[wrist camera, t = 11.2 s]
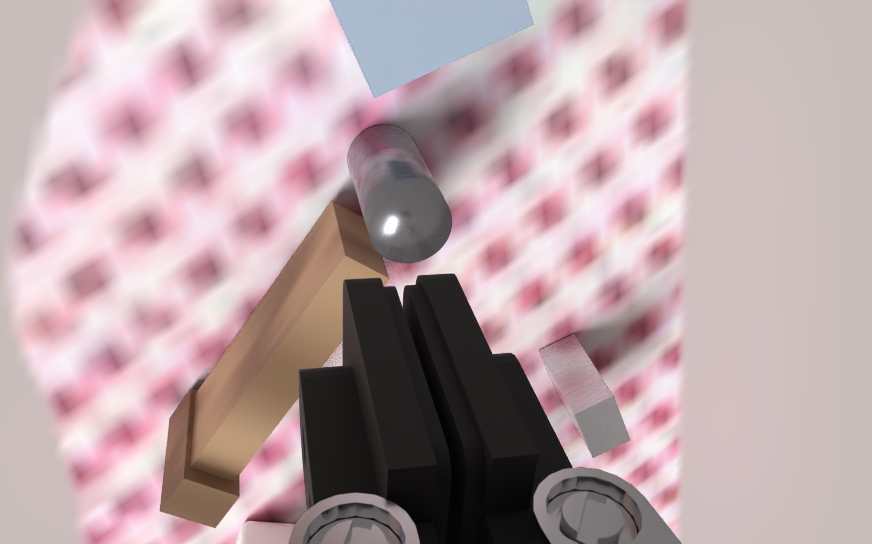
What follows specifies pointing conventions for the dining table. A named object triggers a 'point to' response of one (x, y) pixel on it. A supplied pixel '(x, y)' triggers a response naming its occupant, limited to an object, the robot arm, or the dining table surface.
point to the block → (422, 34)
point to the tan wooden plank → (264, 368)
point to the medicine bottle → (264, 533)
